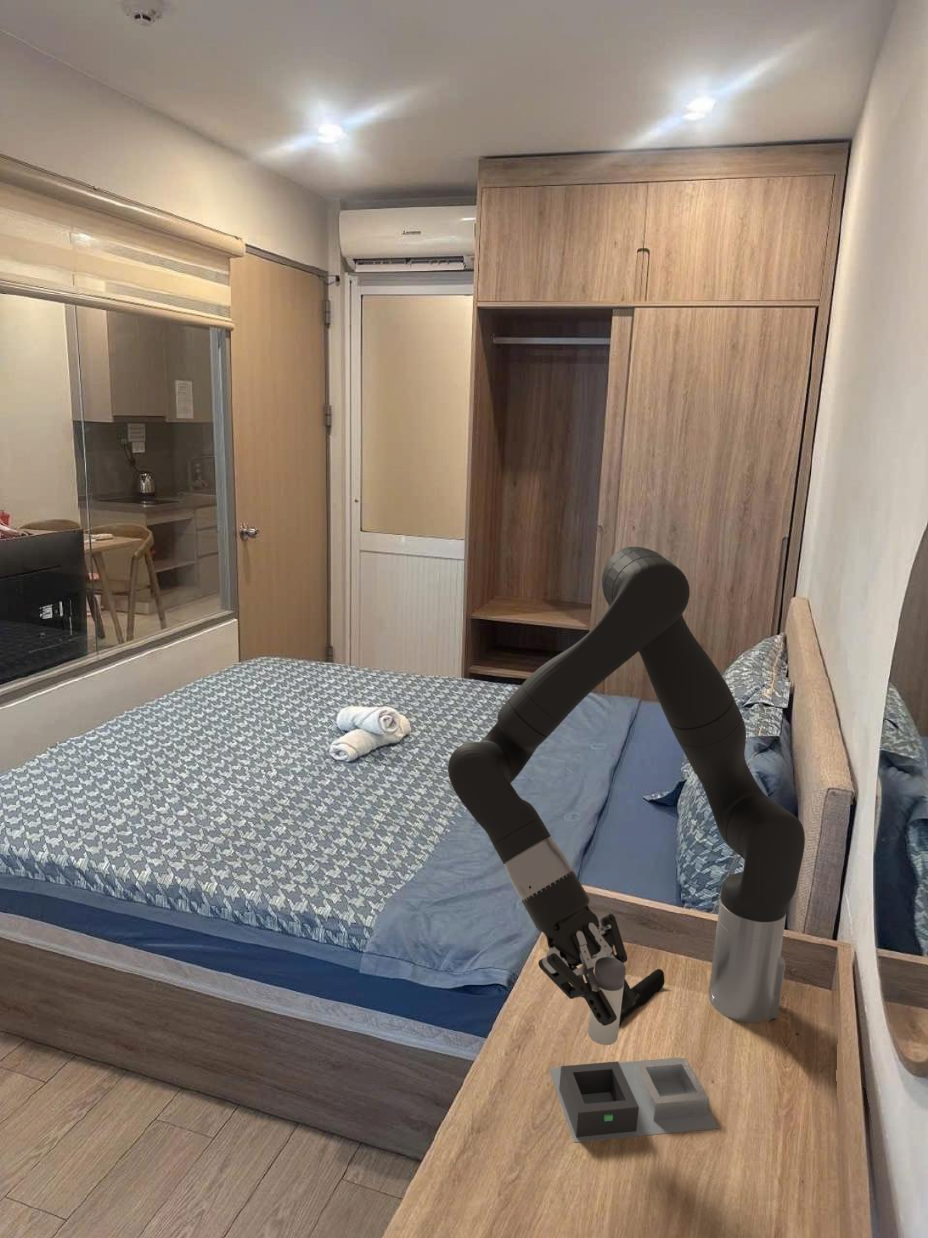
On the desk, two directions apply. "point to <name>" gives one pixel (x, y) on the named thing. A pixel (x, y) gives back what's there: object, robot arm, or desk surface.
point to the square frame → (676, 1104)
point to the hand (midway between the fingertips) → (619, 1014)
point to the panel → (640, 1108)
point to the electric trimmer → (644, 991)
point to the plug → (608, 998)
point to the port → (598, 1115)
